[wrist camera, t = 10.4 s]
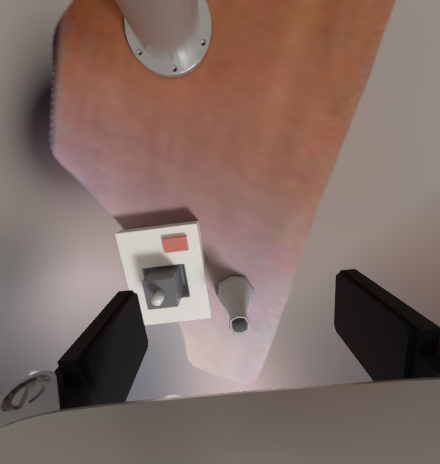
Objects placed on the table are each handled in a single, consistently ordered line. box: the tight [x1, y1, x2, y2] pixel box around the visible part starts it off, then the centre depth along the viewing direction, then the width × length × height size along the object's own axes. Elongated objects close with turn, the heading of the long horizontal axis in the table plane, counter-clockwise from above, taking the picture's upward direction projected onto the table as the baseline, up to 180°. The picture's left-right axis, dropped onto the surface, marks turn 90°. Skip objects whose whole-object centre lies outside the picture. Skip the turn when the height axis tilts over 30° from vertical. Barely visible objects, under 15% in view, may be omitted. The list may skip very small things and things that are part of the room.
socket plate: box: [115, 220, 212, 325], centre depth 39 cm, size 18×14×4 cm
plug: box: [142, 264, 184, 310], centre depth 36 cm, size 5×5×8 cm
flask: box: [217, 276, 253, 334], centre depth 37 cm, size 7×7×10 cm
